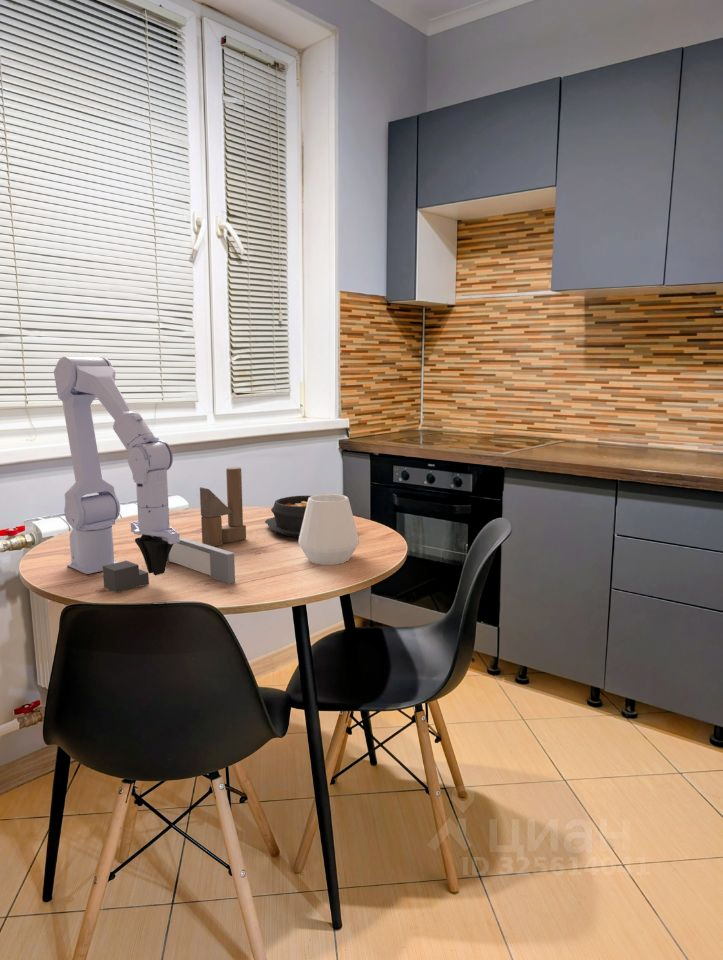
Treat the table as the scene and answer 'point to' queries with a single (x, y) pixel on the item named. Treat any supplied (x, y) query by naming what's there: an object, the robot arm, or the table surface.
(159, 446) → the robot arm
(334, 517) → the white faceted vase
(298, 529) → the casserole
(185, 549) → the door
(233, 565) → the wall frame
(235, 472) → the brown wooden block structure
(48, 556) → the table surface
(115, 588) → the dark grey block
